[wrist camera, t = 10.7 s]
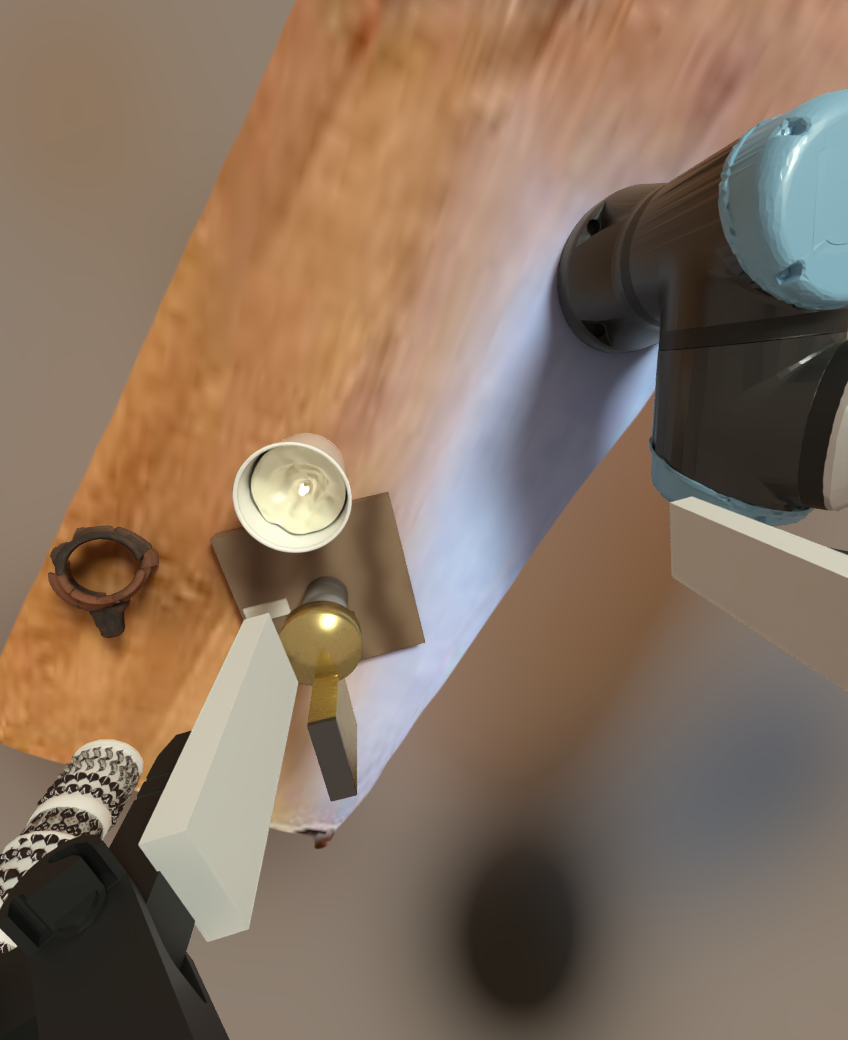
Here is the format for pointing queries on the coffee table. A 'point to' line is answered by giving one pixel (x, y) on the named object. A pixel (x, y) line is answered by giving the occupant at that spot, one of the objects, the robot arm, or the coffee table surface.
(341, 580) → the post plinth
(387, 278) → the coffee table surface
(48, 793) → the decorative candle
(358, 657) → the cap
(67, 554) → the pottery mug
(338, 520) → the candle holder
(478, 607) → the coffee table surface
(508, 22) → the coffee table surface
